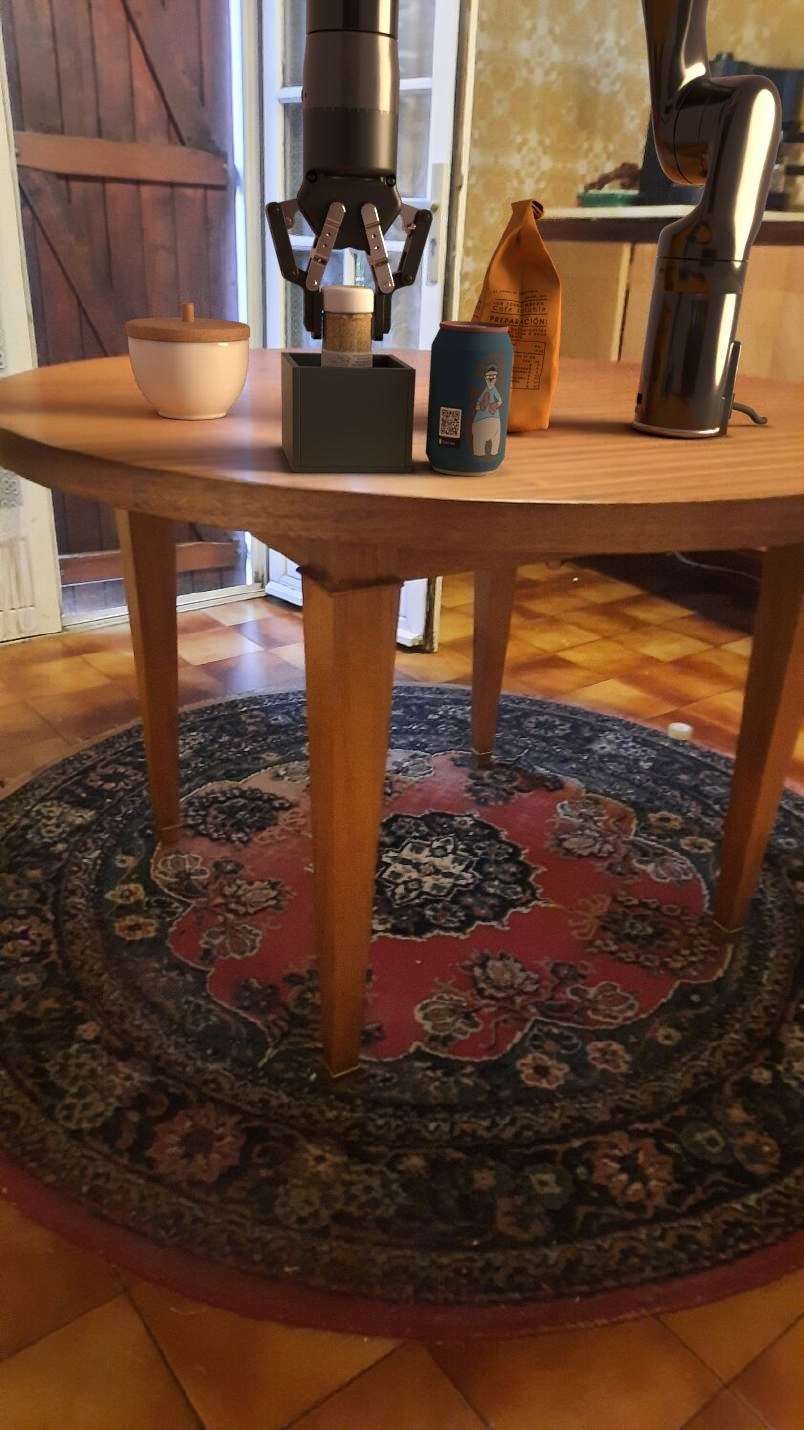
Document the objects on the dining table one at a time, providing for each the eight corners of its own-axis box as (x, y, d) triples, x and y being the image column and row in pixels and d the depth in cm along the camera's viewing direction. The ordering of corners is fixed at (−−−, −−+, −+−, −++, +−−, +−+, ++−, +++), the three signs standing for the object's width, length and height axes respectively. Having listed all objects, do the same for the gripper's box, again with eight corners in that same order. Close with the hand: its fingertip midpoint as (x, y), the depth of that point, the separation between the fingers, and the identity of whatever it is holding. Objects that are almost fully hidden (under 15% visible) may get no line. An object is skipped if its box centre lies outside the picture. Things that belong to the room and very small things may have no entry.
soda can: (447, 457, 94) (456, 318, 89) (516, 468, 91) (529, 325, 86) (410, 469, 89) (417, 322, 83) (482, 481, 86) (493, 330, 80)
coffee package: (546, 419, 115) (568, 202, 106) (554, 440, 104) (580, 199, 95) (458, 414, 116) (473, 198, 106) (457, 434, 105) (473, 194, 95)
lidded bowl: (127, 405, 112) (119, 297, 108) (241, 404, 116) (238, 300, 111) (136, 425, 102) (128, 307, 97) (261, 424, 105) (259, 309, 101)
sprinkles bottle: (350, 442, 94) (353, 284, 88) (381, 451, 91) (386, 288, 85) (309, 447, 91) (309, 284, 85) (339, 456, 88) (341, 288, 82)
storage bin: (389, 448, 97) (392, 354, 93) (411, 472, 88) (416, 369, 84) (281, 448, 95) (280, 352, 91) (293, 473, 86) (292, 367, 82)
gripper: (262, 96, 75) (266, 342, 82) (451, 109, 77) (438, 346, 85) (255, 106, 81) (259, 333, 89) (429, 118, 84) (419, 337, 91)
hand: (347, 338), depth 87 cm, fingers closed on sprinkles bottle, 4 cm apart
